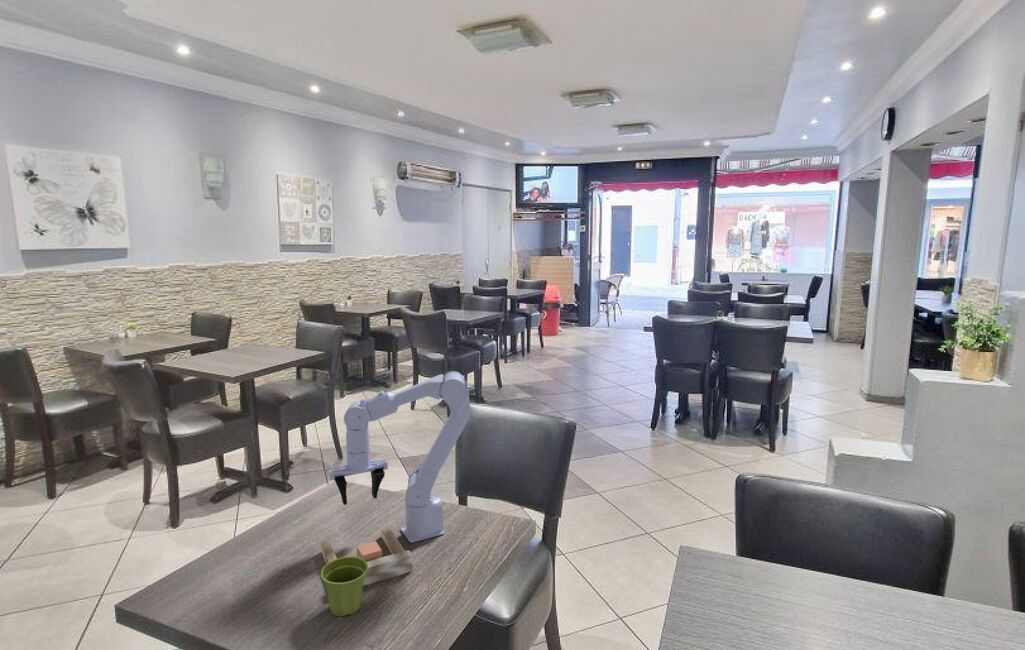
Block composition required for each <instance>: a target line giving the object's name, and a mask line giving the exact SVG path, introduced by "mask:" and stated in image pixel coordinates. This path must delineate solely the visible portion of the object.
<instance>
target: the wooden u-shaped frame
mask: <svg viewBox="0 0 1025 650" xmlns="http://www.w3.org/2000/svg"><path fill="white" fill-rule="evenodd" d="M380 537H381V540H382V541H383V542H384V544H385V545H386V547H387V549H388V550H389V552H390V555H386V556H382V558H378V559H375V560H371V561H367V564H368V570H367V572H366V574H365V578H364V582H363V587H364V586H367V585H368V586H369V585H371V584H374V583H376V582H381V581H385V580H388V579H391V578H394V577H398V576H401V575H405V574H408V573H412V572H413V555H412V553H411V551H410V550H405V548H404V546H402V543H401V542H400V541H399V540H398V538H397V536H396V535H395V533H394V532H393V530H392V529H391V527H390V526H389V525H387V526H386V525H385V526H383V527H380ZM320 553H321V555H322V558H323V560H324V563H325V565H326V564H327V563H329V562H331V561H333V560H335V559H338V558H337V555H336V552H335V551H334V549H333V546H332V544H331V541H330V540H326V541H322V542H320Z"/></svg>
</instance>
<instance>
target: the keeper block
mask: <svg viewBox="0 0 1025 650" xmlns="http://www.w3.org/2000/svg"><path fill="white" fill-rule="evenodd" d="M356 557H359V558H362V559H363V560H365V561H366V562H367V561H371V560H375V559H378V558H382V557H383V550H382V548H381V547H380V545H379V543H377V541H376V540H375V541H372V542H367V543H364V544H361V545H357V546H356Z"/></svg>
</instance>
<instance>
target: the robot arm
mask: <svg viewBox="0 0 1025 650" xmlns="http://www.w3.org/2000/svg"><path fill="white" fill-rule="evenodd" d="M464 377H465V376H463V374H462V373H460V372H458V371H456V370H455V371H454V370H453V371H451V370H450V371H448V372H446V373H445V374H444V373H442V374H438V375H435V376H433V377H431V378H428V379H426V380H424V381H421V382H419V383H417V384H415V385H412V386H411V387H408V388H406V389H403V390H400V391H399V392H396V393H394V392H391V391H384V390H381V391H378V393H377V395H375V396H373V397H371V398H370V397H369V398H367V399H365V398H363V399H360V401H356V402H353V403H352V404H350V405H349V406H348V408H347V410H346V411H345V412H344V415H343V423H344V425H345V427H346V433H345V436H346V438H345V440H346V441H345V442H346V464H345V465H342V466H339V467H337V468H333V469H328V478H329V479H330V481H333V480H334V482H335V484H336V486H337V488H338V490H339V493H340V496H341V501H342V504H343V506H347V505H348V499H347V485H348V483H347V481H346V478H345V477H348V476H354V475H360V474H364V473H370V478H371V496H372V498H373V499H377V498H378V493H379V489H380V486H381V483H382V481H383V480H384V478H385V474H386V471H384V470H388V467H389V466H388V463H389V462H388V461H387V460H386V459H381V460H371V448H370V447H371V444H370V441H371V439H370V430H369V427H370V426H369V422H371V423H372V422H375V421H378V420H380V419H383V418H385V417H388V416H390V415H393V414H395V413H397V412H398V408H399V407H400V406H403V405H406V404H409V403H412V402H415V401H418V400H420V399H424V398H427V397H431V398H433V399H435V400H440V396H441V397H442V399H443V401H444V402H445V403H446V404H447V406H448V407H449V410H450V414H449V416H448V418H447V420H446V422H445V423H444V425H443V426H442V429H441V430H440V432H439V434H438V436H437V437H436V439H435V441H434V443H433V445H432V446H431V448H430V449H429V451H428V453H427V455H426V457H425V458H424V460H423V462H421V463H420V465H419V466H418V468H417V469H416V470H415V471H412V472H411V474H410V475H409V476H408V479H407V480H408V481H407V488H406V492H405V500H404V502H405V526H402V527H400V531H401V532H402V534H403V535H404V536H405V538H406V539H407V540H408V542H409V543H411V544H412V543H417V542H420V541H424V540H426V539H431V538H435V537H438V536H441V535H444V534H445V531H444V508H443V502H442V501H441V498H440V497H439V496H433V495H432V490H433V487H434V485H435V483H436V480H437V477H438V474H439V473H440V471H441V469H442V467H443V466H444V464H445V462H446V461H447V459H448V457H449V456H450V453H451V452H452V450H453V448H454V447H455V445H456V443H457V441H458V440H459V438H460V435H461V434H462V432H463V431H464V428H465V426H467V424H468V422H469V420H470V418H471V416H472V413H471V411H472V410H471V401H470V393H469V392H470V391H469V386H468V384H467V381H466V379H465V378H464Z"/></svg>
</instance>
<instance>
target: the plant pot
mask: <svg viewBox="0 0 1025 650" xmlns="http://www.w3.org/2000/svg"><path fill="white" fill-rule="evenodd" d="M367 570H368V564H367V562H366V561H365V560H363V559H362V558H359V557H357V556H342V557H339V558H337V559H335V560H333V561H331V562H329V563H327V564H326V563H325V564H324V566H323V568H322V569H321V571H320V577H321V580H322V582H323V583H324V585H325V588H326V594H327V599H328V606H329V611H330V613H331V614H332V615H334V616H336V617H344V616H348V615H353V614H355V613H356V612H357V611H359V609H360V608H361V606H362V605H361V603H362V594H363V590H364V589H363V587H364V586H363V582H364V578H365V574H366V572H367Z"/></svg>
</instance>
